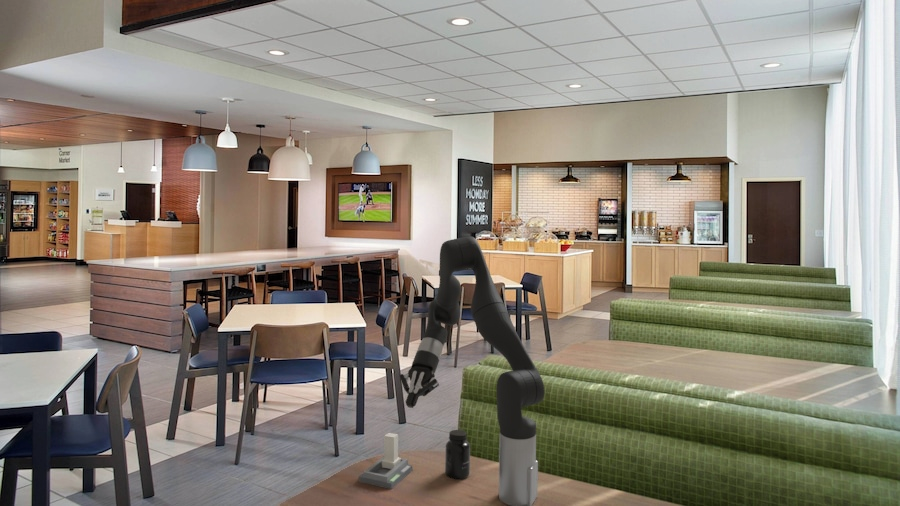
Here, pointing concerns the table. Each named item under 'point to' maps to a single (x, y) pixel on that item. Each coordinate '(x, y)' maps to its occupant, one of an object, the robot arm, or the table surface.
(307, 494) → the table surface
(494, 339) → the robot arm
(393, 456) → the block
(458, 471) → the supplement bottle
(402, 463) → the grey slotted stand
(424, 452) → the table surface
